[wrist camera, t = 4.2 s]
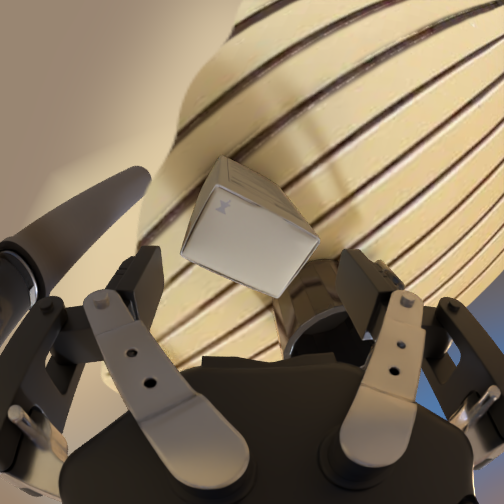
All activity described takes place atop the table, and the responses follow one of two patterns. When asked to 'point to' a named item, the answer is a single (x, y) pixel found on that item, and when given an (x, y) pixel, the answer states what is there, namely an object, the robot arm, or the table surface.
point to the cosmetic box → (248, 230)
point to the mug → (320, 315)
